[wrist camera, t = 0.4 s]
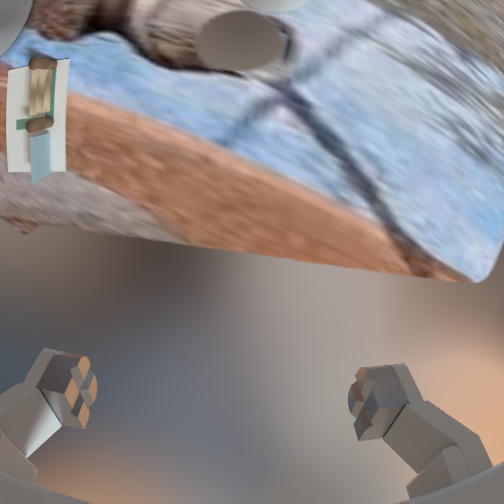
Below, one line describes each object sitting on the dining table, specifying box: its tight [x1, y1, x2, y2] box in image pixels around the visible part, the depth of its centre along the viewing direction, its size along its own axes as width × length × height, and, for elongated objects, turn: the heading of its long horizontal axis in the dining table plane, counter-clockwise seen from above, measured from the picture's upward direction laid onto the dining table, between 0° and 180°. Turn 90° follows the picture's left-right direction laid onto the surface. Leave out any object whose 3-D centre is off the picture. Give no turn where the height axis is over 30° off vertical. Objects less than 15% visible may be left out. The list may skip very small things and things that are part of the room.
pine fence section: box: [26, 57, 58, 133], centre depth 40 cm, size 13×2×7 cm, turn 173°
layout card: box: [6, 59, 70, 172], centre depth 45 cm, size 21×15×1 cm
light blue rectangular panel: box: [30, 133, 51, 183], centre depth 45 cm, size 8×1×5 cm, turn 173°
